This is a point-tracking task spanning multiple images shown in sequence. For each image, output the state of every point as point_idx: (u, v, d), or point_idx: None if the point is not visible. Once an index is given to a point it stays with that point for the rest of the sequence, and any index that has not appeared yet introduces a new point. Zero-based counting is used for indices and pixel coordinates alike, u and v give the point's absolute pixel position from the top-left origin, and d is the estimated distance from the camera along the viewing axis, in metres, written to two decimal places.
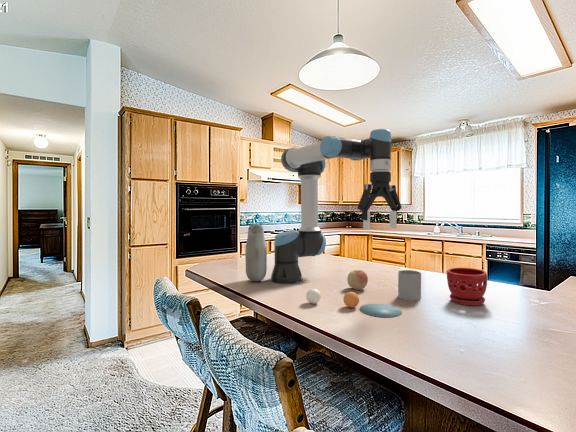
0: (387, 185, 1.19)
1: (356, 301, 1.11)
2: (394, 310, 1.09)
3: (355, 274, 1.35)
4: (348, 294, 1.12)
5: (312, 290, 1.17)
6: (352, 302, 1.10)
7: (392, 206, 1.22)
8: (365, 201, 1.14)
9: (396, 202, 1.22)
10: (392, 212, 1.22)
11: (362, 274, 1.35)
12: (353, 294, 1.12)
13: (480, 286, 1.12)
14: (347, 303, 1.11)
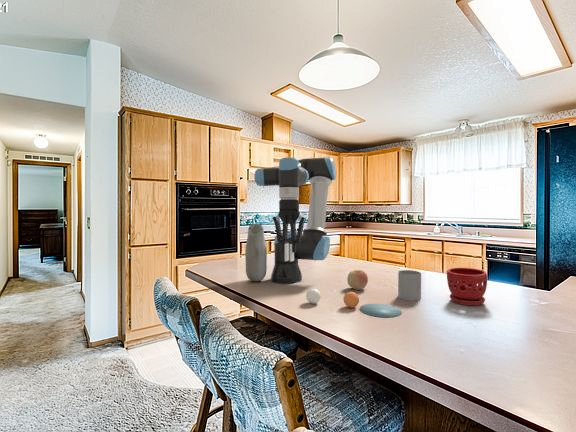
0: (295, 212, 1.18)
1: (356, 301, 1.11)
2: (394, 310, 1.09)
3: (355, 274, 1.35)
4: (348, 294, 1.12)
5: (312, 290, 1.17)
6: (352, 302, 1.10)
7: None
8: (277, 233, 1.21)
9: None
10: None
11: (362, 274, 1.35)
12: (353, 294, 1.12)
13: (480, 286, 1.12)
14: (347, 303, 1.11)
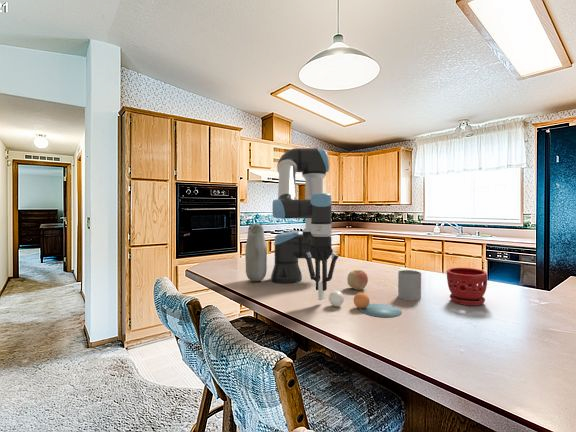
0: (328, 249, 1.14)
1: (362, 307, 1.10)
2: (394, 310, 1.09)
3: (355, 274, 1.35)
4: (366, 298, 1.10)
5: (337, 306, 1.13)
6: (360, 304, 1.10)
7: None
8: (310, 271, 1.17)
9: (329, 272, 1.15)
10: None
11: (362, 274, 1.35)
12: (368, 302, 1.10)
13: (480, 286, 1.12)
14: (357, 300, 1.10)
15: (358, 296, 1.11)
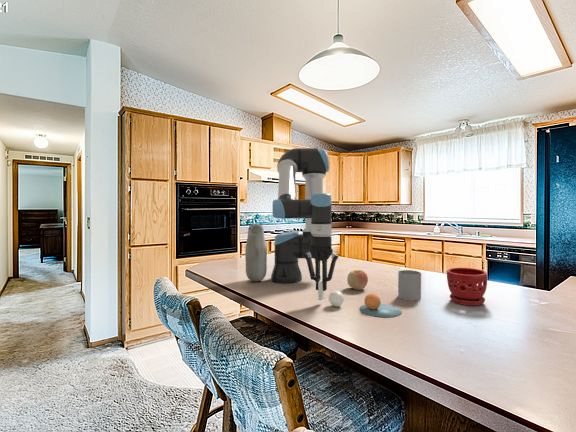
0: (328, 249, 1.14)
1: (366, 305, 1.10)
2: (394, 310, 1.09)
3: (355, 274, 1.35)
4: (377, 307, 1.09)
5: (337, 306, 1.13)
6: (369, 304, 1.09)
7: None
8: (310, 271, 1.17)
9: (329, 272, 1.15)
10: None
11: (362, 274, 1.35)
12: (372, 309, 1.10)
13: (480, 286, 1.12)
14: (373, 300, 1.08)
15: (377, 300, 1.08)
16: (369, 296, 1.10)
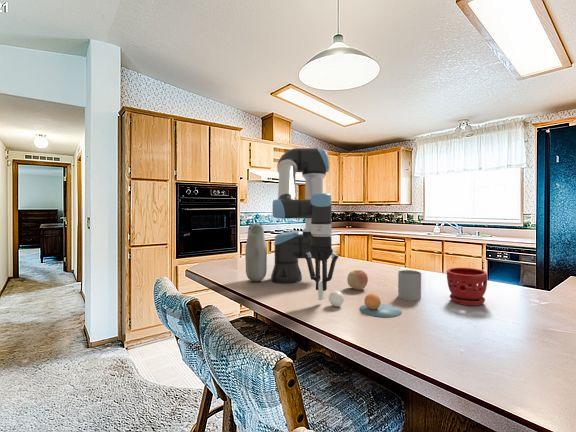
0: (328, 249, 1.14)
1: (366, 305, 1.10)
2: (394, 310, 1.09)
3: (355, 274, 1.35)
4: (377, 307, 1.09)
5: (337, 306, 1.13)
6: (369, 304, 1.09)
7: None
8: (310, 271, 1.17)
9: (329, 272, 1.15)
10: None
11: (362, 274, 1.35)
12: (372, 309, 1.10)
13: (480, 286, 1.12)
14: (373, 300, 1.08)
15: (377, 300, 1.08)
16: (369, 296, 1.10)
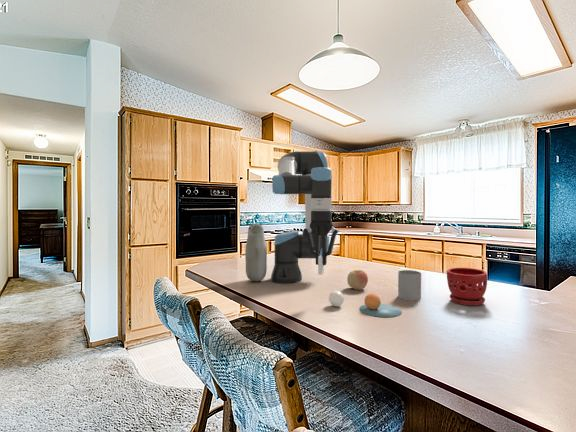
0: (328, 224, 1.14)
1: (366, 305, 1.10)
2: (394, 310, 1.09)
3: (355, 274, 1.35)
4: (377, 307, 1.09)
5: (337, 306, 1.13)
6: (369, 304, 1.09)
7: None
8: (310, 246, 1.17)
9: (328, 246, 1.15)
10: None
11: (362, 274, 1.35)
12: (372, 309, 1.10)
13: (480, 286, 1.12)
14: (373, 300, 1.08)
15: (377, 300, 1.08)
16: (369, 296, 1.10)
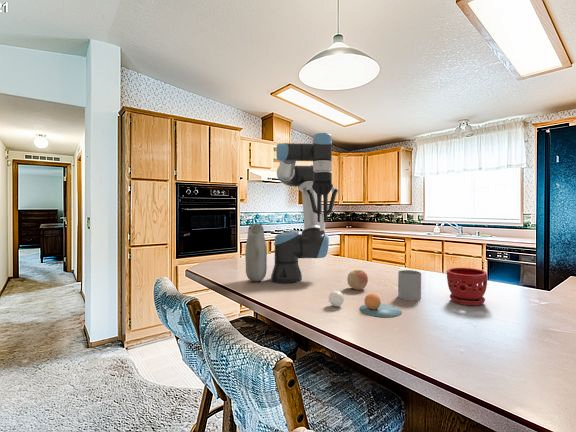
0: (329, 184, 1.26)
1: (366, 305, 1.10)
2: (394, 310, 1.09)
3: (355, 274, 1.35)
4: (377, 307, 1.09)
5: (337, 306, 1.13)
6: (369, 304, 1.09)
7: None
8: (312, 205, 1.29)
9: None
10: None
11: (362, 274, 1.35)
12: (372, 309, 1.10)
13: (480, 286, 1.12)
14: (373, 300, 1.08)
15: (377, 300, 1.08)
16: (369, 296, 1.10)
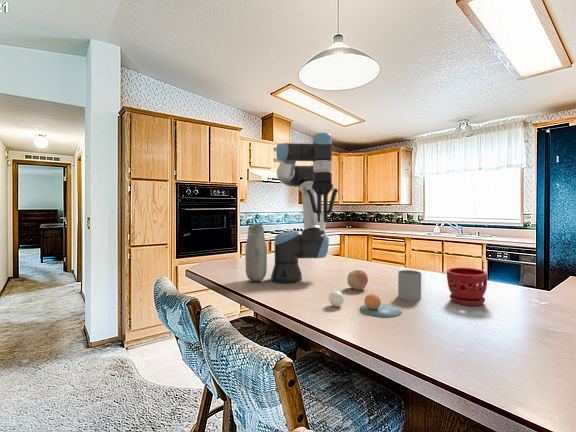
0: (329, 184, 1.26)
1: (366, 305, 1.10)
2: (394, 310, 1.09)
3: (355, 274, 1.35)
4: (377, 307, 1.09)
5: (337, 306, 1.13)
6: (369, 304, 1.09)
7: None
8: (312, 205, 1.29)
9: None
10: None
11: (362, 274, 1.35)
12: (372, 309, 1.10)
13: (480, 286, 1.12)
14: (373, 300, 1.08)
15: (377, 300, 1.08)
16: (369, 296, 1.10)
